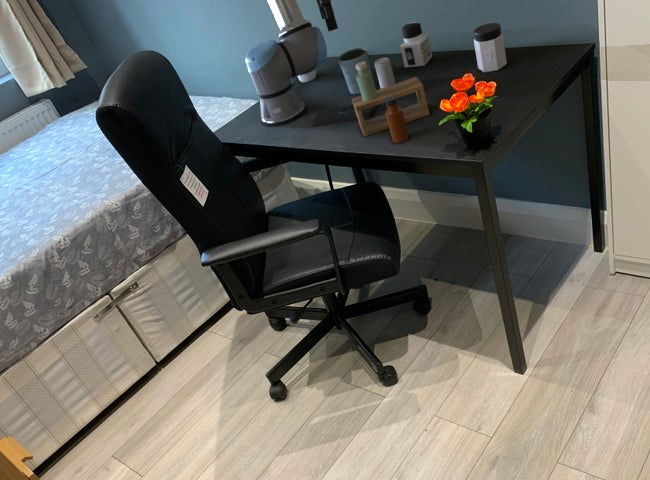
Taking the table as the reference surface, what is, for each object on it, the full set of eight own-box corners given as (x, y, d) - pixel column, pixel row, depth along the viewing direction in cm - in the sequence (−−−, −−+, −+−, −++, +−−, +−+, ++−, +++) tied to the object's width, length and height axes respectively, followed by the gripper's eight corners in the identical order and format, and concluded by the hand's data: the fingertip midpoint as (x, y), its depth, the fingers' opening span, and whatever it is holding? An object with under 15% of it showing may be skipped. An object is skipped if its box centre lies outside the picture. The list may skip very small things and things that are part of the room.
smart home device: (370, 111, 192) (311, 121, 199) (371, 117, 193) (312, 126, 200) (376, 100, 198) (318, 109, 205) (377, 105, 199) (320, 114, 206)
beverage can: (397, 99, 199) (387, 62, 191) (382, 101, 200) (372, 65, 193) (399, 92, 202) (390, 56, 195) (385, 95, 204) (375, 59, 196)
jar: (476, 74, 197) (470, 35, 190) (480, 63, 203) (474, 26, 195) (505, 69, 193) (500, 30, 186) (508, 59, 199) (503, 20, 192)
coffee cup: (296, 77, 243) (285, 46, 236) (323, 70, 241) (313, 38, 234) (292, 87, 235) (281, 56, 227) (320, 80, 232) (310, 48, 225)
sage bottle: (361, 97, 183) (352, 64, 177) (376, 92, 183) (366, 58, 177) (364, 102, 180) (354, 68, 174) (378, 97, 179) (369, 63, 173)
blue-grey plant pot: (372, 79, 218) (363, 45, 211) (379, 88, 210) (370, 52, 203) (345, 89, 218) (335, 55, 211) (350, 98, 210) (340, 63, 203)
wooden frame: (359, 126, 190) (351, 98, 185) (422, 105, 190) (416, 76, 184) (364, 136, 184) (355, 107, 178) (429, 114, 183) (422, 85, 178)
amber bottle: (391, 138, 178) (380, 98, 170) (406, 133, 178) (396, 93, 170) (394, 144, 174) (383, 104, 167) (410, 139, 174) (400, 98, 167)
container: (424, 65, 215) (416, 27, 207) (404, 67, 219) (395, 30, 211) (432, 56, 220) (424, 18, 212) (412, 58, 223) (404, 21, 216)
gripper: (325, -59, 150) (349, 30, 164) (313, -72, 170) (336, 9, 183) (295, -49, 151) (322, 39, 164) (287, -63, 170) (312, 17, 183)
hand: (329, 23), depth 173 cm, fingers open, 13 cm apart
